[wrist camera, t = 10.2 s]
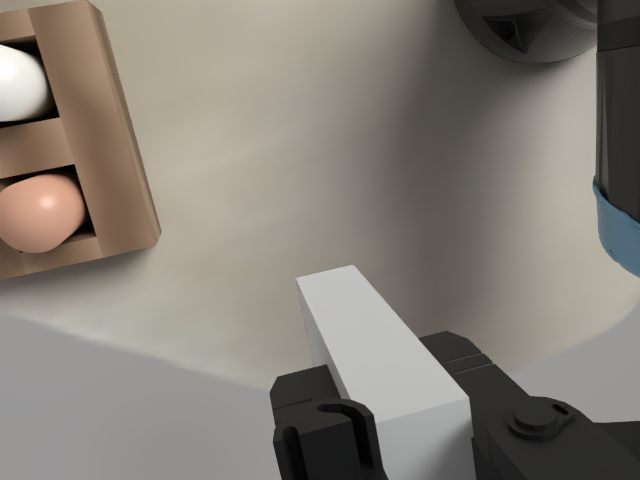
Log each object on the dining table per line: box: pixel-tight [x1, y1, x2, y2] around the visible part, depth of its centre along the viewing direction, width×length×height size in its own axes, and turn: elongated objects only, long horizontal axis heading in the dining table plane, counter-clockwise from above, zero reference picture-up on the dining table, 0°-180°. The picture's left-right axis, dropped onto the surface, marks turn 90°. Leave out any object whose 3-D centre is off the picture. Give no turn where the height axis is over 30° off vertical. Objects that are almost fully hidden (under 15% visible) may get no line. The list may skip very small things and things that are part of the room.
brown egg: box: [0, 171, 90, 253], centre depth 35 cm, size 4×4×6 cm
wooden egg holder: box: [0, 0, 161, 280], centre depth 36 cm, size 12×16×4 cm
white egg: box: [0, 45, 56, 121], centre depth 33 cm, size 4×4×6 cm
